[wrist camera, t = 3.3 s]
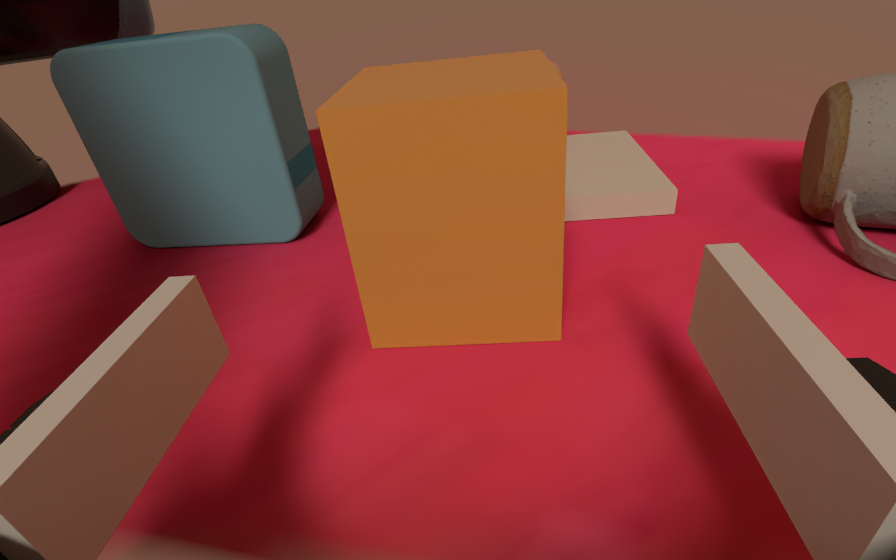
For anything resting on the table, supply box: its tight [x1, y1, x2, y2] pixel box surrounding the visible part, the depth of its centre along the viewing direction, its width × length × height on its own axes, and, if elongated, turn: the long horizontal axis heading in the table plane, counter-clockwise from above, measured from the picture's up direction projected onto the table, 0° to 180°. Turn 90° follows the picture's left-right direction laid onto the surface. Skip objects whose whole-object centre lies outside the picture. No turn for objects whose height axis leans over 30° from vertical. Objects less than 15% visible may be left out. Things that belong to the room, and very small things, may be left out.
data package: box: [50, 24, 324, 248], centre depth 30 cm, size 12×4×12 cm, turn 84°
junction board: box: [549, 60, 678, 221], centre depth 33 cm, size 18×12×8 cm, turn 87°
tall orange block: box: [316, 50, 568, 348], centre depth 21 cm, size 8×8×10 cm
